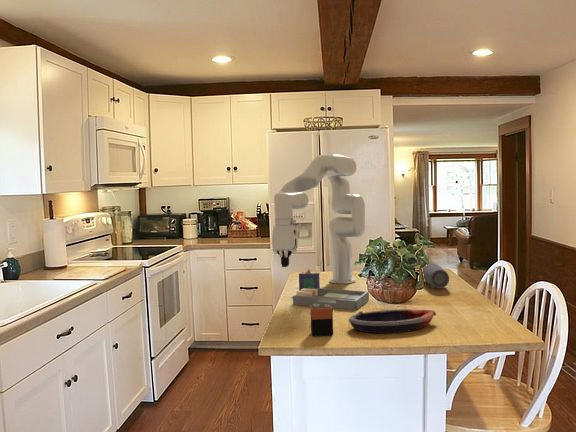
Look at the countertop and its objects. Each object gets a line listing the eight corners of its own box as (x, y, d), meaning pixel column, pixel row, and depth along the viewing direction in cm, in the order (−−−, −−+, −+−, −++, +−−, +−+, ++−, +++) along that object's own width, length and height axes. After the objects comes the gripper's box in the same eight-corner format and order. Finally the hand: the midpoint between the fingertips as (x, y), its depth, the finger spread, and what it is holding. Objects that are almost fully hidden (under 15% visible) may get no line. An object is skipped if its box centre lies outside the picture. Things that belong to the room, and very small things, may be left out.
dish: (343, 324, 176) (343, 310, 176) (427, 318, 181) (427, 304, 180) (355, 338, 161) (355, 323, 161) (446, 331, 165) (446, 316, 165)
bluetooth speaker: (417, 280, 243) (417, 260, 242) (437, 280, 243) (437, 259, 242) (429, 291, 220) (428, 268, 220) (450, 290, 220) (450, 268, 219)
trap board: (308, 295, 221) (308, 287, 220) (368, 299, 209) (368, 291, 209) (293, 304, 206) (292, 295, 205) (356, 309, 194) (356, 300, 194)
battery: (310, 332, 168) (310, 303, 167) (331, 331, 168) (330, 302, 167) (312, 336, 163) (311, 306, 163) (333, 335, 164) (332, 305, 163)
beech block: (303, 295, 212) (303, 288, 212) (317, 296, 209) (317, 289, 209) (296, 299, 206) (296, 291, 206) (311, 300, 203) (311, 292, 203)
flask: (319, 292, 226) (319, 268, 225) (320, 293, 223) (319, 269, 222) (299, 292, 227) (298, 268, 226) (299, 294, 224) (298, 270, 223)
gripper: (304, 222, 209) (305, 265, 211) (272, 221, 216) (273, 264, 217) (296, 223, 203) (297, 268, 204) (263, 223, 209) (265, 267, 210)
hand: (285, 266), depth 211 cm, fingers closed
